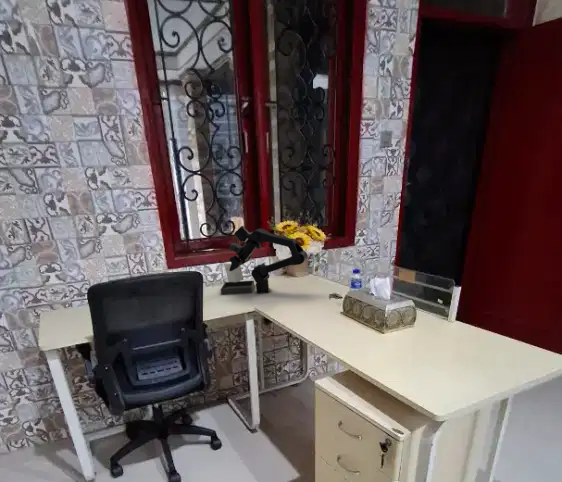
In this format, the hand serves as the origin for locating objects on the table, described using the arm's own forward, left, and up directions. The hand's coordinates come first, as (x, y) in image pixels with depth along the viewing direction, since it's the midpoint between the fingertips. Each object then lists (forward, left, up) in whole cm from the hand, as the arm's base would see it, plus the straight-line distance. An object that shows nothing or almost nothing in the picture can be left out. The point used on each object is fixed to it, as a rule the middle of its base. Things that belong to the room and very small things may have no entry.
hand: (232, 268), depth 231 cm
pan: (-1, 0, -12) cm, 12 cm away
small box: (-1, 0, -7) cm, 7 cm away
